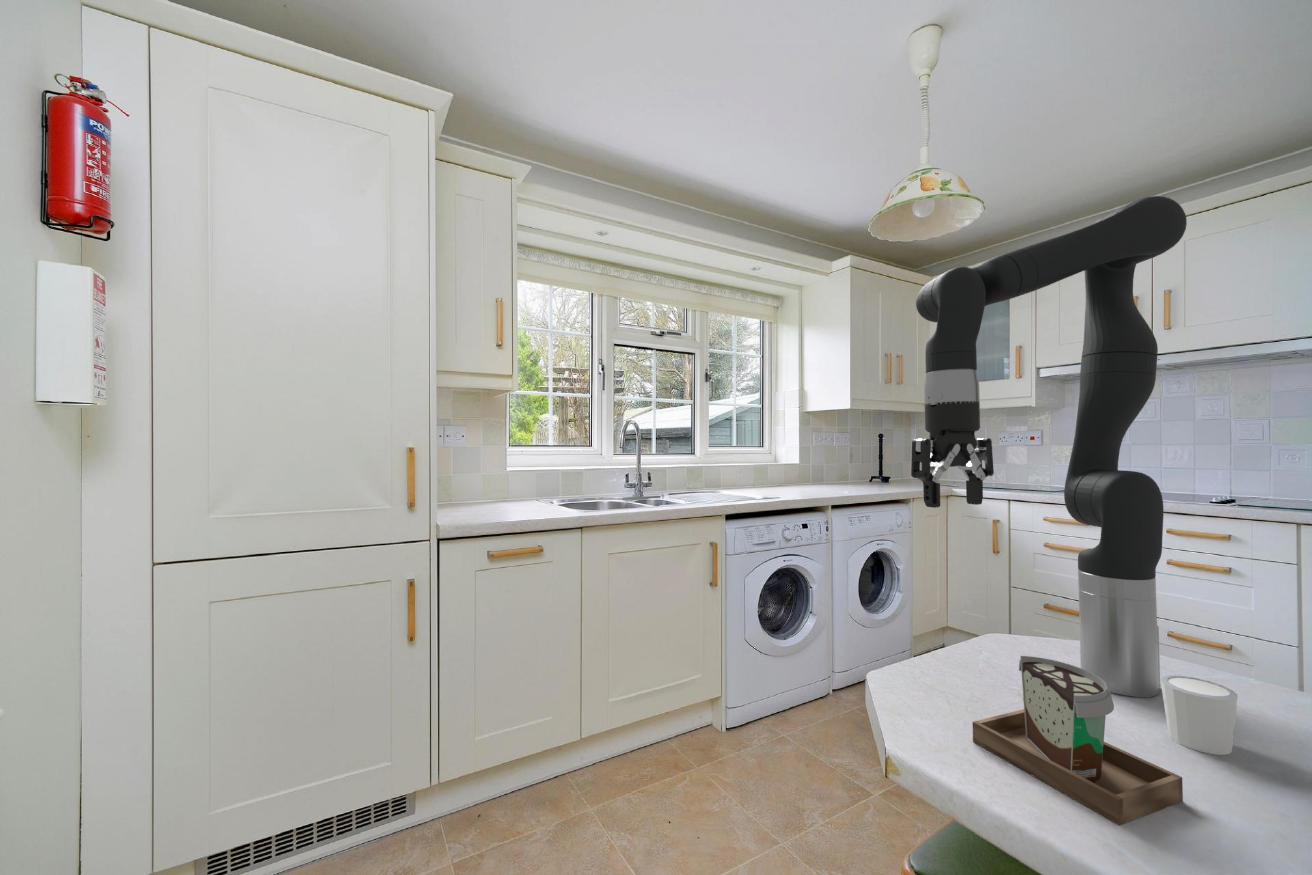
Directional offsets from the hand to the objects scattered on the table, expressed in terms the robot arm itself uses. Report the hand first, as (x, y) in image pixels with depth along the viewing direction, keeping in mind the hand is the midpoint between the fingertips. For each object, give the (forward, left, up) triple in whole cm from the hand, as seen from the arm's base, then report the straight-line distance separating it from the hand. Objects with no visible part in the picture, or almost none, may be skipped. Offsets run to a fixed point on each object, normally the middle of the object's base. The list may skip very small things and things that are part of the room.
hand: (953, 505), depth 84 cm
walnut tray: (+6, +20, -28) cm, 35 cm away
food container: (+5, +20, -28) cm, 35 cm away
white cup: (-15, +22, -28) cm, 39 cm away
